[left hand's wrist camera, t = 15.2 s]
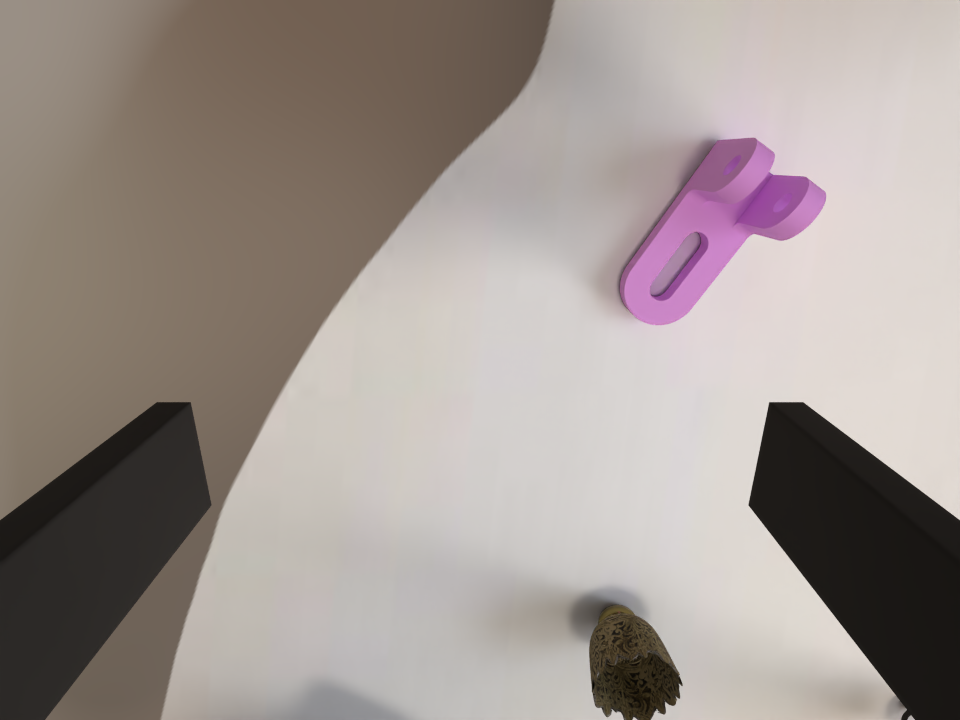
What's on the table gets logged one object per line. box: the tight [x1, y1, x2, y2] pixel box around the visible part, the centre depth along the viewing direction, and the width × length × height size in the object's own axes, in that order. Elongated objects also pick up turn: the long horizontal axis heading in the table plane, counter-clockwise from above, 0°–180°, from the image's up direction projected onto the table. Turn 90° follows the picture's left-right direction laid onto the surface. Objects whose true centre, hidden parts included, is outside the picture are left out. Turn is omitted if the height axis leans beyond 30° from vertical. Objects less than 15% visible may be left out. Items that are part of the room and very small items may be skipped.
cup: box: [589, 605, 683, 720], centre depth 49 cm, size 8×7×8 cm
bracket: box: [620, 138, 826, 325], centre depth 37 cm, size 13×6×7 cm, turn 148°
